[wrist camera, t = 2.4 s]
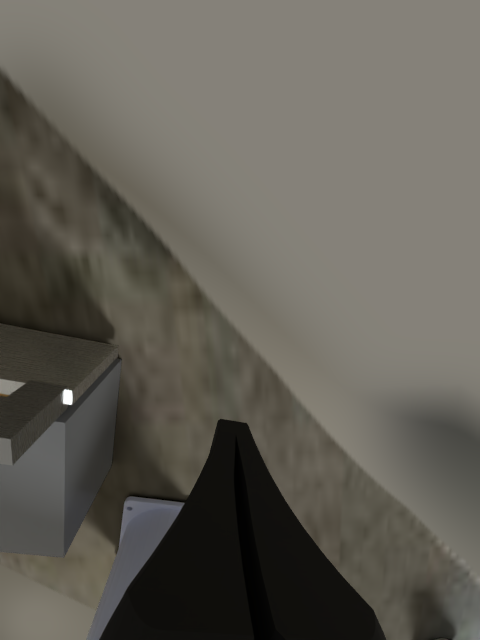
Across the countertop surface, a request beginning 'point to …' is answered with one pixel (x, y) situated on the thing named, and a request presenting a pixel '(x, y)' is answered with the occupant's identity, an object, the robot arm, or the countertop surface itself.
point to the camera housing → (60, 473)
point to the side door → (42, 382)
